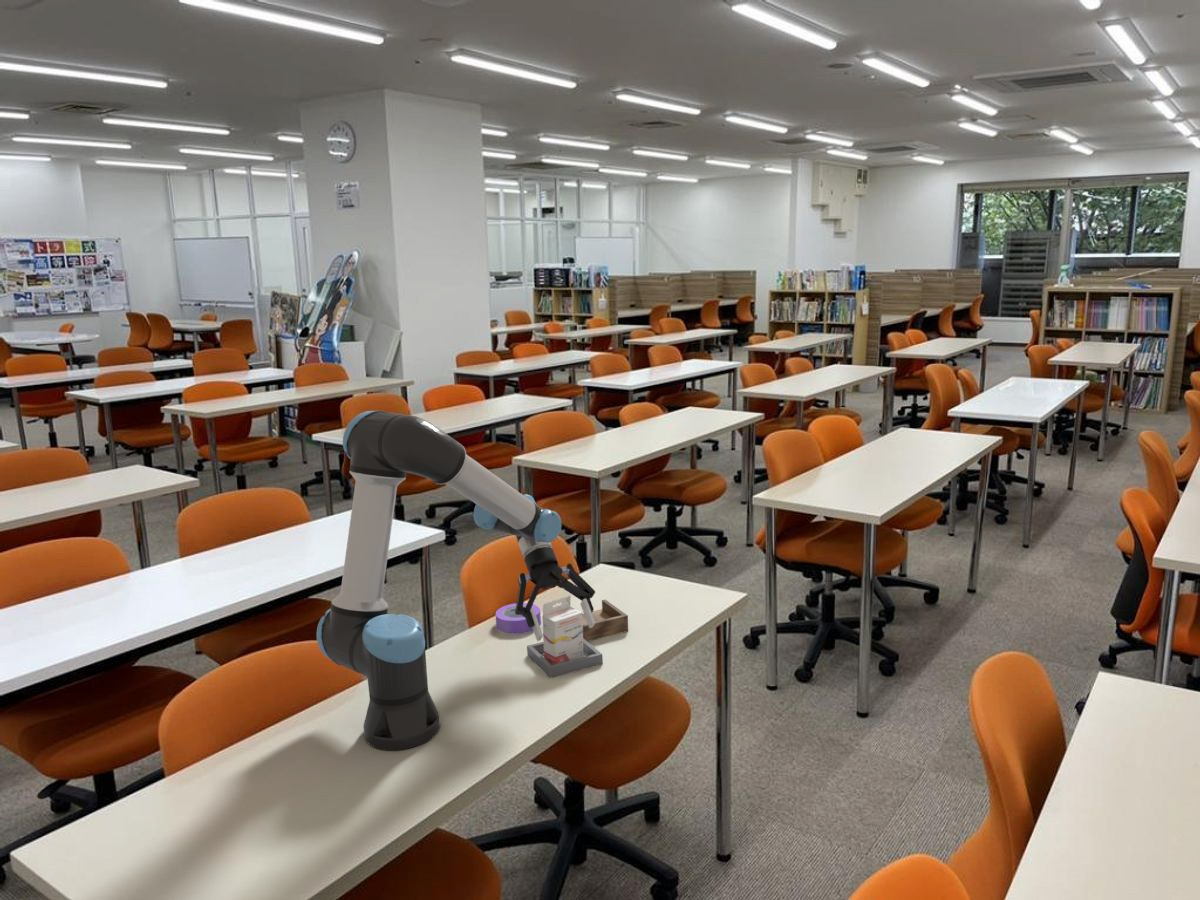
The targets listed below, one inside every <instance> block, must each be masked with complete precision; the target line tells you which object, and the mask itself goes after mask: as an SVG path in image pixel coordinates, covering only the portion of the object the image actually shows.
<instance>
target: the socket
mask: <svg viewBox="0 0 1200 900" xmlns="http://www.w3.org/2000/svg"><path fill="white" fill-rule="evenodd" d="M583 652H584V654H585V655H584V657H582V658H578V659H574V660H570V661H566V662H562V663H558V664H555V665H551V664H550V663H549V662H548V661H547V660H546V659H545V658H544V641H541V642H538V643H532V644H528V645H526V655H527V656H528V658H529V659H530V660H532V662H533V663H535V665H536V666H538V667H539V669H540V670H541V671H543V673H544V674H545V675H546V676H547V677H548V678H550V679H552V678H556V677H559V676H563V675H566V674H567V675H568V674H571V673H575V672H579V671H582V670H585V669H590V668H593V666H594V667H598V666H600V665H603V664H604V660H603V653H601V652H600V651H599V650H598V649H597V648H595V647H594V646H593V644H591V643H590V642H589V641H586V640H585V639H584V638H583Z"/></svg>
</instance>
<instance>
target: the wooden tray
mask: <svg viewBox="0 0 1200 900" xmlns="http://www.w3.org/2000/svg"><path fill="white" fill-rule="evenodd" d="M592 615H593V617H594V620H595V625H594V626H593V627H592V628H589V625H588V623H587V620H586V617H585V615H584V613H582V616H583V638H584V639H585V640H586V641H587V642H589V641H590V640H591V641H594V640H598V638H599V639H601V638H602V637H603V638H606V637H610V636H613V635H618V634H621V632H622V633H625V632H629V618H628V617H629V615H628V614H627V613H625V612H623V611H622V610H621V609H619V608H618V607H616V605H613V604H612V603H611V602H610V601H608V600H606V599H601V609H597V610H593V612H592ZM617 633H618V634H617Z"/></svg>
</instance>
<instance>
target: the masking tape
mask: <svg viewBox="0 0 1200 900" xmlns="http://www.w3.org/2000/svg"><path fill="white" fill-rule="evenodd" d="M527 603H528V602H523V607H526V605H527ZM516 604H517V602H516V603H511V604H507V605H503V606H502V607H500V608H498V609H497V610H496V612H495V623H496V624H495V626H496V629H498V631H500V632H502V633H505V634H510V635H511V634H512V633H513V634H512V635H514V634H518V635H519V634H526V633H529V632H532V631H533V632H534V630H533V628H532V627H530V628H529V626H528V624H527V621H526V618H525V617H523V615H522V614H519V615H516V614H515V610H516ZM530 611H535V614H536V617H537V620H538V623H539V626H540V627H541V625H542V619H541V617H542V616H541V608H540V607H539V606H538V605H536V604H534V603H533V605H532V608H531V610H530Z"/></svg>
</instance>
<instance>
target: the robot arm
mask: <svg viewBox="0 0 1200 900" xmlns="http://www.w3.org/2000/svg"><path fill="white" fill-rule="evenodd" d="M342 447H343V450H344V452H345V453H346V457H348V458H349V459H350V465H349V474H350V475H351V476H352V478H353V479H354V481H355V483H354V491H353V498H352V506H351V514H350V519H349V520H350V521H349V527H348V535H347V540H346V541H347V544H346V550H345V557H344V564H343V573H342V579H341V587H340V591H339V594H338V595H337V596H336V597H334V598H333V599H332V600H331V602H330V603H331V604H330V608H329V609H328V610H326V611H325V615H323V616H321V618H320V620H319V622H318V624H317V628H316V642H317V645H318V648H319V650H320V652H321V653H322V654H323V655H324V656H325V657H326V658H327V659H329V660H331V662H333V663H334V664H336V665H338V666H343V667H345V668H346V669H349V670H351V671H353V672H356V673H358V674H360V675H363V676H364V677H366V678H367V686H368V694H369V696H368V697H369V704H368V706H367V710H366V715H365V718H364V723H363V736H364V737H363V738H364V739H365V742H366V741H367V742H368V743H369V744H370V745H369V744H368V743H367V742H366V743H367V744H368V745H369V746H371V745H372V746H374V747H373V748H375V747H376V748H375V749H378V748H379V749H378V750H382V749H385V750H384V751H399V750H402V751H403V750H406V749H411V748H416V747H418V746H420V745H423V744H425V743H426V742H428V741H430V740H431V739H433V738H434V737H435V736H436V734H437V733H438V732H439V730H440V727H441V722H440V721H441V719H440V713H439V711H438V709H437V706H436V705H435V702H434V700H433V698H432V696H431V693H430V692H429V685H428V682H429V681H428V672H427V657H426V640H425V635H424V630H423V627H422V625H421V624H420V622H419V621H417V619H415V618H413V617H411V616H409V615H406V614H401V613H399V614H395V613H388V611H389V604H388V603H387V602H386V600H385V599H384V597H383V594H384V587H385V578H386V572H387V571H386V570H387V564H388V557H389V548H390V542H391V535H392V529H393V528H392V526H393V518H394V512H395V505H396V497H397V492H398V491H397V490H398V486H399V485H400V484H401V483H403V482H404V481H406V480H407V479H406V478H407V473H408V474H413V475H417V476H420V477H423V478H426V479H427V480H429V481H431V482H432V483H435V484H436V485H441V486H442V485H446V486H448V487H449V488H452V490H454V491H456V492H457V493H458V494H460V495H461V496H463V497H465V498H467V500H469V501H471V502H473V503H474V504H475V506H474V510H473V512H472V514H473V515H472V516H473V521H474V522H475V525H476V526H478V527H479V528H481V529H485V530H486V531H487V530H488V531H496V532H500V533H504V534H509V535H511V536H512V535H513V536H515V537H516V540H517V543H518V546H519V549H520V551H521V554H522V557H523V558H524V564H525V565H526V568H527V569H526V570H527V572H528V574H525V573H524V572H521V573H520V574H519V576H518V578H517V581H518V586H519V587H518V592H517V598H516V603H517V604H516V610H515V614H516V615H519V614H522V615H523V617H525V618H526V621H527V624H528V626H529V628H530V627H532V628H533V633H534V636H535V640H536V641H537V642H539V641H541V640H542V639H543V631H542V628H541V625H540V626H539V623H538V620H537V617H536V614H535V611H530V610H531V608H532V605H533V604H534V603H535V600H536V598H537V596H538V594H539V592H540V589H542V590H543V591H544V590H547V589H555V588H556V587H558V588H560V589H563V590H564V591H565V592H568V593H569V594H570V595H572V596H574V597H575V598H577V599H578V600H579V601H581V602H580V607H581V609H582V613H583V614H584V615H585V617H586V620H587V623H588V625H589V628H592V627H593V626H594V625H595V620H594V617H593V615H592V612H593V611H595V610H594V606H593V603H592V601H591V599H592V598H593V597H594V595H595V594H596V591H595V589H594V587H593V588H592V586H591V585H590V584H589V583H588V582H587V581H586V580H585V579H584V578H583V577H582V576H581V575H580V574H579V573H578V572H577V571H576V570H575V568H574V566H573V565H572V563H567V565H565V566H562V567H561V566H560V565H559V563H558V559H557V557H556V553H555V551H554V548H552V547H553V545H552V542H553V541H555V540H556V539H557V538H558V536H559V535H560V532H561V530H562V520H561V516H560V514H558V512H557V511H554V510H550V509H548V508H542V507H541V506H540V505H538V504H537V503H536V501H535V499H534V497H533V496H532V495H529V494H527V493H526V494H525V493H524V494H522V493H520V492H519V491H518V490H517V489H515V488H514V487H512V486H511V485H510V484H508V483H507V482H505V481H504V480H503V479H501V478H500V477H499V476H497V475H496V474H494V473H493V472H491V471H490V470H489V469H487V468H486V467H484V466H483V465H481V463H479V462H478V461H476V460H475V459H474V458H472V457H470V456H469V455H468V454H467V451H466V449H465V446H463V444H461V443H459V441H457V440H456V439H454V438H452V437H451V436H450V435H448V434H447V433H446V432H445V431H444V430H442V429H441V428H439V427H438V426H436V425H434V424H433V423H431V422H429V421H428V420H426V419H424V418H422V417H419V416H417V415H413V414H403V413H396V412H388V411H385V410H367V411H363V412H361V413H359V414H357V415H356V416H355V417H354V418H352V419H351V420H350V421H349V422H348V424H347V425H346V427H345V429H344V432H343V437H342ZM562 574H564V575H565V576H567V577H565V576H564V575H562ZM567 578H568V579H569V580H568V579H567ZM570 580H571V581H570ZM529 581H530V582H531V583H533V584H534V587H533V589H532V592H531V594H530V597H529V598H528V601H527V602H526V603H527V605H526V607H523V603H525V602H524V601H525V595H526V587H527V584H528V582H529ZM372 746H371V747H372Z"/></svg>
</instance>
